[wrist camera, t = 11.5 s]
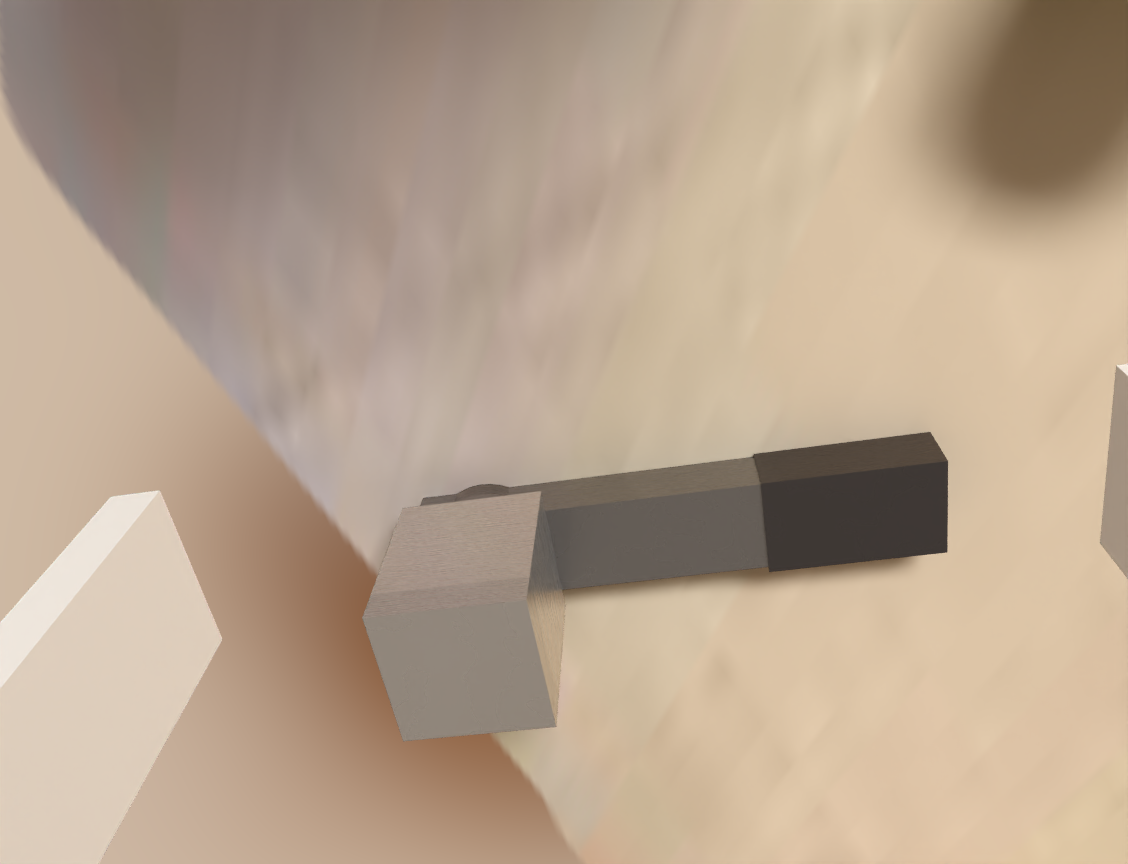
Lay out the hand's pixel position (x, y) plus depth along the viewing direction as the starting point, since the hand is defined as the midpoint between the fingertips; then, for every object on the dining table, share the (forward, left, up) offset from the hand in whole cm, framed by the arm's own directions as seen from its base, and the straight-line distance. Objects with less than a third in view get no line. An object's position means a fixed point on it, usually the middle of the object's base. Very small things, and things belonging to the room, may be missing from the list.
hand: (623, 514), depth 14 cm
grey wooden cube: (+18, -9, -26) cm, 33 cm away
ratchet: (+18, 0, -29) cm, 34 cm away
